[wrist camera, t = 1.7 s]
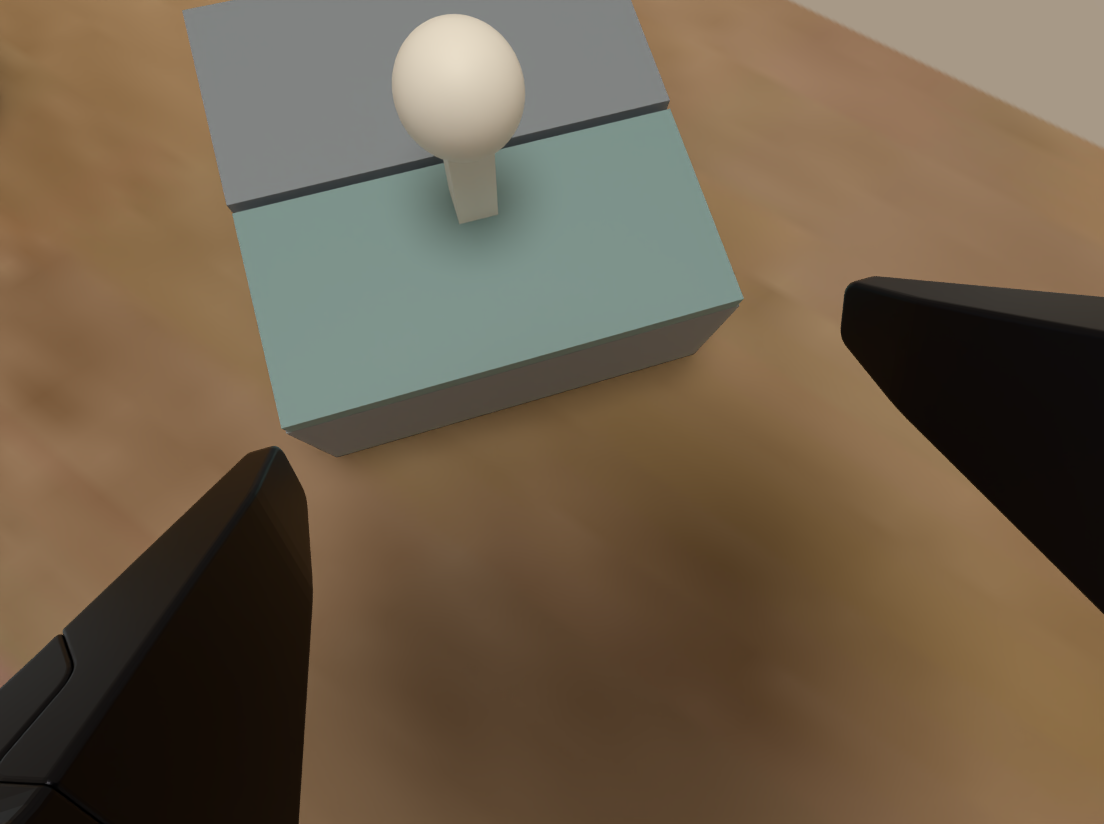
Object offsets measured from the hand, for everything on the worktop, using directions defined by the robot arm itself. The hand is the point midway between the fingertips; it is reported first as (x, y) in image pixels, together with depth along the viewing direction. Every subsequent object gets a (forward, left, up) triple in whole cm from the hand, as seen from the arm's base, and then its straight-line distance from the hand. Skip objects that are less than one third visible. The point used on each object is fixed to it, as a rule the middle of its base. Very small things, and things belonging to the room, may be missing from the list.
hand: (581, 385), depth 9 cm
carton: (+10, 0, -14) cm, 17 cm away
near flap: (+6, 0, -9) cm, 11 cm away
